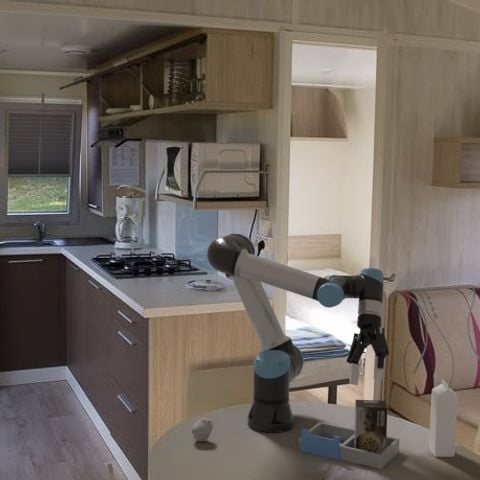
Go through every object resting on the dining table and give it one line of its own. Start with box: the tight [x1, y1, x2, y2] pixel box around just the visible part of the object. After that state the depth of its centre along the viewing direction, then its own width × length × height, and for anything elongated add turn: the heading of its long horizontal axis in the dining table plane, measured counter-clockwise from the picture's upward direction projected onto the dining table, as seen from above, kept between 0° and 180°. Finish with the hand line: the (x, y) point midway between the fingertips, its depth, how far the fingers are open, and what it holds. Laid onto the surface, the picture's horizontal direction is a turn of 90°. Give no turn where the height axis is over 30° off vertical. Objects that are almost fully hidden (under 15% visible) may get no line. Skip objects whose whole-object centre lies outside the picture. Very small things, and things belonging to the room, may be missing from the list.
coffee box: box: [354, 399, 388, 454], centre depth 220 cm, size 9×6×16 cm
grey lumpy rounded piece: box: [191, 417, 214, 443], centre depth 229 cm, size 6×7×7 cm
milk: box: [428, 379, 459, 458], centre depth 223 cm, size 6×6×22 cm
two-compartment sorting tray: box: [298, 421, 401, 470], centre depth 224 cm, size 26×16×7 cm, turn 59°
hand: (365, 382), depth 231 cm, fingers open, 13 cm apart
